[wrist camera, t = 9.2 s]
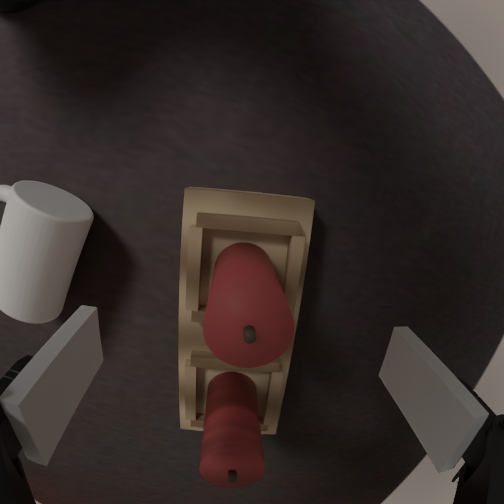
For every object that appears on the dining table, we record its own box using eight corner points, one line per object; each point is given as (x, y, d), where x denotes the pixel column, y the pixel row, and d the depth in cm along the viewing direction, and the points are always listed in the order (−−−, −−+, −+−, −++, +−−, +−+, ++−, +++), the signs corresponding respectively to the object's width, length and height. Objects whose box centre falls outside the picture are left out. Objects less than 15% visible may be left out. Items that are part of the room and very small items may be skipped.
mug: (108, 213, 27) (66, 229, 19) (75, 302, 29) (36, 338, 21) (19, 162, 25) (-32, 164, 17) (-5, 247, 27) (-51, 266, 19)
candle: (216, 239, 25) (203, 289, 14) (275, 244, 25) (304, 297, 15) (212, 295, 26) (200, 373, 15) (268, 299, 26) (289, 377, 16)
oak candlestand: (190, 186, 27) (146, 200, 13) (306, 197, 27) (370, 222, 14) (183, 410, 32) (167, 510, 19) (272, 416, 33) (288, 515, 20)
